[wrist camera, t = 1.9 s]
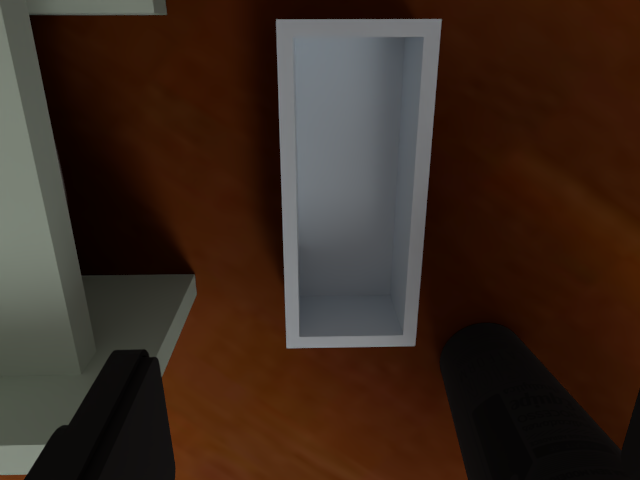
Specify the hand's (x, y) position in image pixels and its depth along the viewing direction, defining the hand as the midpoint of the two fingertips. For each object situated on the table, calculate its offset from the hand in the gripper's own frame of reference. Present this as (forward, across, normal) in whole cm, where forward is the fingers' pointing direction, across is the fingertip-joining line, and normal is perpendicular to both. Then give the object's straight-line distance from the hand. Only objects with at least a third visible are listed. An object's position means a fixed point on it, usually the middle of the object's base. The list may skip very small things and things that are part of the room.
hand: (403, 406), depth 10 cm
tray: (+17, 0, 0) cm, 17 cm away
